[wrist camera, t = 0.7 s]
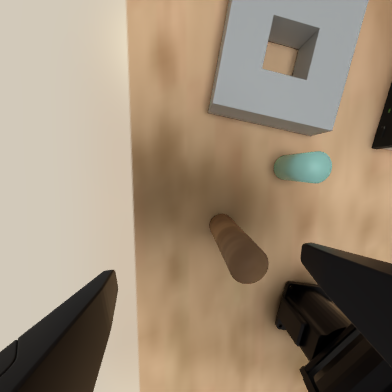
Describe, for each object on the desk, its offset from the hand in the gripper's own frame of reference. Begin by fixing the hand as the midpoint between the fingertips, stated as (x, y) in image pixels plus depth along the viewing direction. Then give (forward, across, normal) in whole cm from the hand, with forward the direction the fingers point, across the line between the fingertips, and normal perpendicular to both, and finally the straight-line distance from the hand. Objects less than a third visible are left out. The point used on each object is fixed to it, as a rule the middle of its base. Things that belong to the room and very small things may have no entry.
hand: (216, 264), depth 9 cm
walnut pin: (+12, -4, +4) cm, 13 cm away
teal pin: (+12, -12, -3) cm, 17 cm away
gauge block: (+13, -10, -13) cm, 21 cm away
